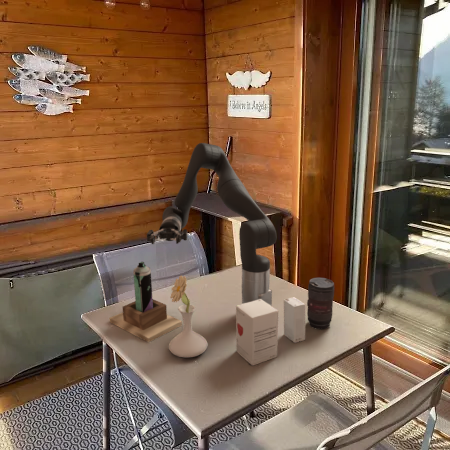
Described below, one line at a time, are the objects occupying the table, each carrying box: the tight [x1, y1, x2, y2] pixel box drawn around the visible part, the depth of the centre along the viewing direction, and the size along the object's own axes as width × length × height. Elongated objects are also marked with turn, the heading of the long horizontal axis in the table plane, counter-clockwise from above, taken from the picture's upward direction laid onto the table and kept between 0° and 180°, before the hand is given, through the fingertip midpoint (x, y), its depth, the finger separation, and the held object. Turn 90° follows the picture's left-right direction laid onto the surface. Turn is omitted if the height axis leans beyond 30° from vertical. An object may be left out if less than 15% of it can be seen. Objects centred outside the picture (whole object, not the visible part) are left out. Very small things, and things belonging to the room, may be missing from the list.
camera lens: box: [306, 277, 335, 330], centre depth 150 cm, size 8×8×15 cm
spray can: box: [133, 261, 154, 313], centre depth 152 cm, size 6×6×20 cm
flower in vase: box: [168, 275, 208, 358], centre depth 134 cm, size 13×11×25 cm
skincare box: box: [283, 296, 306, 344], centre depth 144 cm, size 6×4×12 cm
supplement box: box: [235, 299, 279, 366], centre depth 134 cm, size 9×9×15 cm
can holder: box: [109, 298, 183, 343], centre depth 154 cm, size 20×14×6 cm
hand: (164, 241), depth 162 cm, fingers open, 8 cm apart
